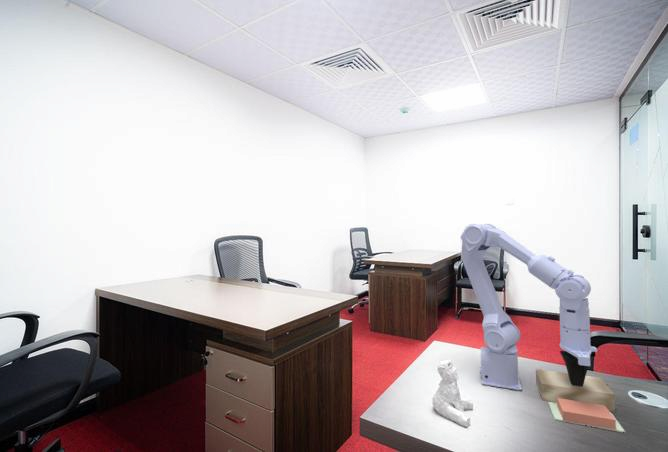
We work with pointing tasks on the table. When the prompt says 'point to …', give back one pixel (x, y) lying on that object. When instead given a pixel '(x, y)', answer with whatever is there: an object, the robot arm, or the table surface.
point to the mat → (558, 417)
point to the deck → (573, 389)
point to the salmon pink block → (586, 413)
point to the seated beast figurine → (451, 396)
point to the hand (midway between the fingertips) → (576, 384)
